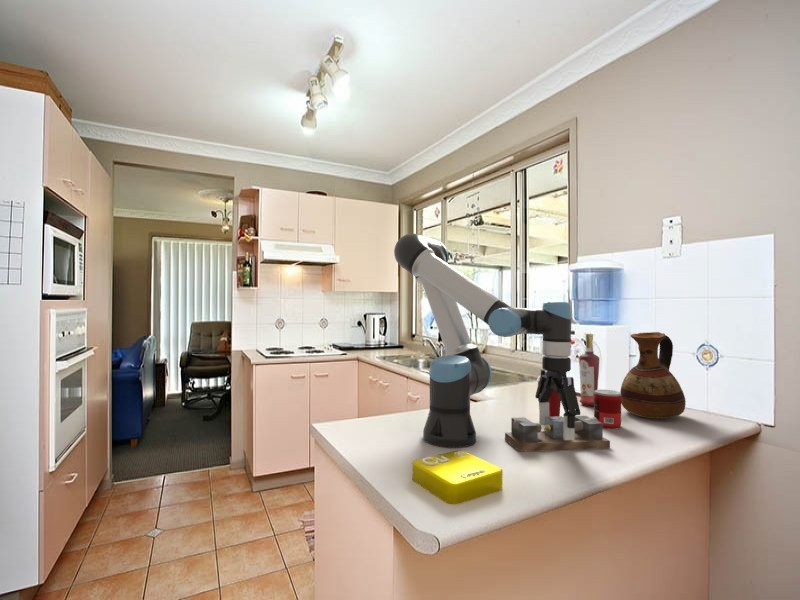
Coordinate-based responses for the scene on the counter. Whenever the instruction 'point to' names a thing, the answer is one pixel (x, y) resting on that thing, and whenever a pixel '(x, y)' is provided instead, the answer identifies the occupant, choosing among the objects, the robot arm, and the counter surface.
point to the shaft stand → (533, 439)
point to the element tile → (457, 476)
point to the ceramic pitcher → (652, 380)
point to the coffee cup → (553, 403)
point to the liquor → (588, 373)
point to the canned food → (608, 408)
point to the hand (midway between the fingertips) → (555, 431)
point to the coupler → (554, 427)
